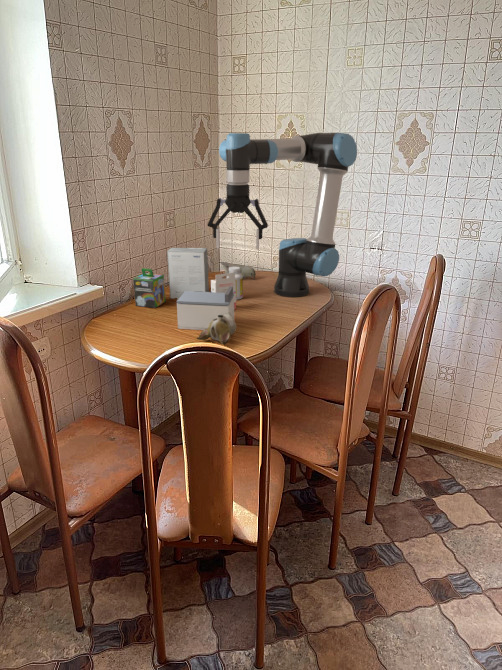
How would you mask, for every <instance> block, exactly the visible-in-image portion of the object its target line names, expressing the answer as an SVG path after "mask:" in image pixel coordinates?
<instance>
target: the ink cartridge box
mask: <svg viewBox="0 0 502 670" xmlns="http://www.w3.org/2000/svg"><path fill="white" fill-rule="evenodd" d="M227 276H228V277H229V278H227ZM224 277H225V278H224ZM230 286H232V287H233V293H234V310H236V309H237V300H236V281H235V273H226V274H222V273H220V274H215V279H210V288H211V289H210V292H216V293H226V292H227V290H228V288H229V287H230Z"/></svg>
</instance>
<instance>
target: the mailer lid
mask: <svg viewBox="0 0 502 670" xmlns="http://www.w3.org/2000/svg"><path fill="white" fill-rule="evenodd" d="M233 296H234V293H233V287H232V286H230V287H229V288H228V290H227V292H226V293H216V292H211V291H209V292H194V291H185V292H184V293H183V294H182V295H181V297H180V298H179V299H176V304H177V303H182V304H203V305H224V306H229V304H230V302H231V300H232V298H233Z"/></svg>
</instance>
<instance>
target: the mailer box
mask: <svg viewBox="0 0 502 670" xmlns="http://www.w3.org/2000/svg"><path fill="white" fill-rule="evenodd" d="M176 311H177V313H176V314H177V329H179V330H181V329H182V330H194V331H195V330H196V331H197V330H198V331H199V330H200V331H203V330H204V329H207V328H208V326H209V324H210V322H212V320H214V319H216V317H217V316H218V315H225V314H227V313H228V312H230V314H231V315H232V317H233V319H234V320H235V309H234V296H233V298H232V300H231V302H230V304H229V306H224V305H203V304H182V303H177V302H176Z"/></svg>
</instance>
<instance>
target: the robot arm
mask: <svg viewBox="0 0 502 670" xmlns="http://www.w3.org/2000/svg"><path fill="white" fill-rule="evenodd" d="M218 152H219V153H218V154H219V157H220V158H221V160H222V161H224V162H226V171H225V172H226V177H225V178H226V180H225V181H226V183H227V184H226V197H225V199H224V198H221V197H219V198H217V199H216V206H215V208H214V210H213V212H212V214H211V216H210V218H209V220H208V223H207V227H210V228H212V237H213V239H216V241H215V242H216V244H215V245H216V249H219V248H220V247H221V245H220V242H221V241H220V238H221V237H220V235H221V234H220V227H219V225H220V224H221V223H222V222H223V220H224V219H225V218H226V217H227V216H228V215H229V213H233V214H236V213H239V214H243V213H245V214H246V215H247V216H248V217H249V219H250V220H251V221H252V222H253V224H254V225H255V226H256V227H257V228H256V234H255V235H256V240H255V241H256V243H255V247H256V248H255V250H259V248H260V240H262V239H263V230H264V229H267V228H268V226H269V224H268V222H267V219H266V217H265V216H264V213H263V211H262V209H261V207H260V201H259V199H258V198H255V199H250V185H249V183H250V169H251V168H250V165H269V164H272V163H274V162H275V161H287V160H288V161H292V162H295V163H298V162H299V163H306V164H307V163H308V164H314V165H317V168H316V169H317V171H319V173H320V175H319V181H318V188H317V195H316V201H315V207H314V214H313V220H312V226H311V234H310V236H309V237H308V238H306V237H296V238H295V237H294V238H293V237H291V238H286V239H282V240H281V241H279V249H278V276H277V277H276V281H275V283H274V287H273V292H274V294H276V295H278V296H281V297H288V298H296V297H297V298H298V297H303V296H304V297H305V296H307V295H309V294H310V286H309V281H308V279H307V278H308V277H307V274H311V275H315V276H318V277H328V276H331V274H333V272H334V271H336V269H337V267H338V265H339V263H340V254H339V250H338V249H336V242H335V241H334V239H333V238H334V232H335V226H336V220H337V212H338V207H339V201H340V196H341V195H340V194H341V191H342V181H343V177H344V175H346V174H347V173H348V171H349V167H351V166H353V165H354V163H355V162H356V160H357V158H358V157H357V156H358V146H357V143H356V141H355V138H354V137H353V136H352V135H351V134H349V133H347V132H346V133H345V132H316V133H314V132H313V133H309V134H308V133H307V134H302V135H294V136H291V138H251V135H250V133H247V132H246V133H245V132H243V133H241V132H230V133H228V134H227V135H226V139H223V141H221V143H220V144H219V148H218ZM224 204H225V205H226V207H227V209H226V210H225V211H224V212H223V213H222V215H221V216H220V217H219V219H217V221H216V222H215V219H216V217H217V215H218V213H219V210H220V209H221V206H223V205H224ZM250 205H252V206H253V207H254V208H255V210H256V212H257V214H258V217H259V219H260V221H261V222H260V221H259V220H258V218H256V216H255V215H254V214H253V212H252V211H251V209H250V208H249V206H250ZM214 222H215V223H214ZM261 223H262V224H261Z"/></svg>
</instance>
